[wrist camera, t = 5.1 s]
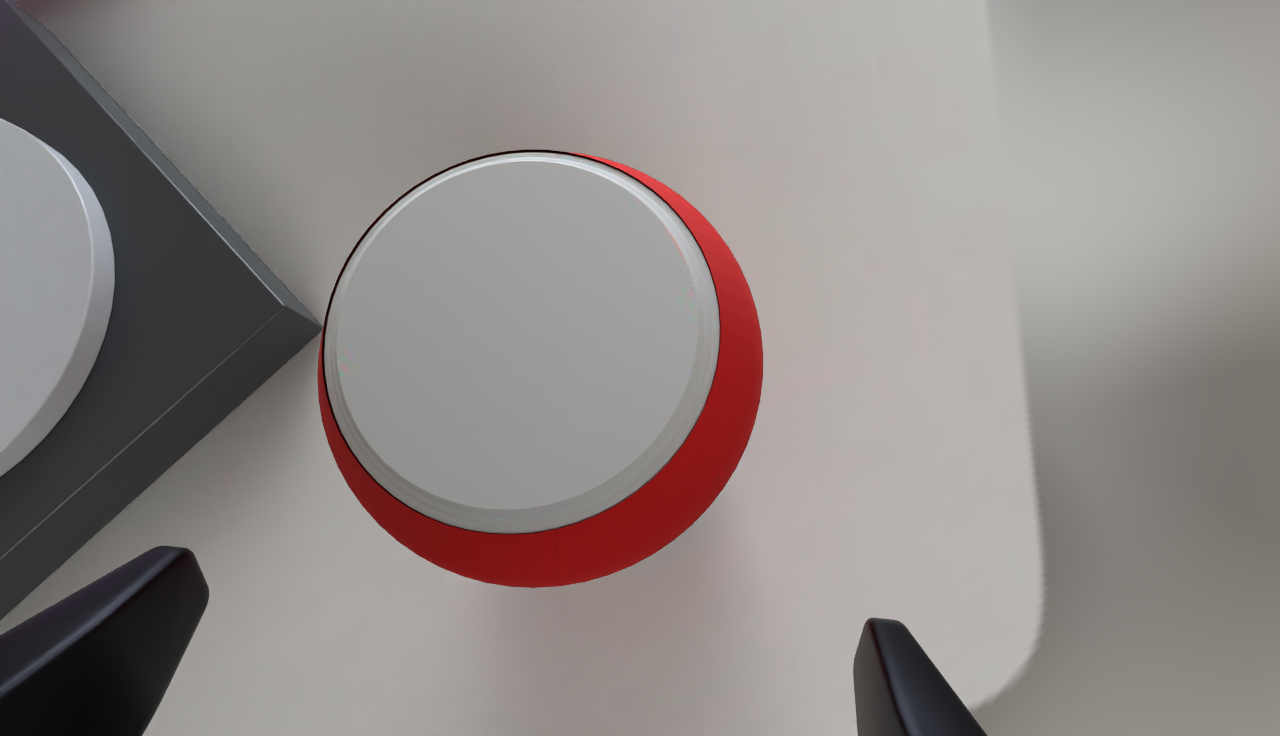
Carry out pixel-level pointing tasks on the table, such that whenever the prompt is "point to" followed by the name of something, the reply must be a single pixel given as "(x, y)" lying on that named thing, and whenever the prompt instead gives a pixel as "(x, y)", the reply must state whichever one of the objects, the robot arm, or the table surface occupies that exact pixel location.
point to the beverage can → (539, 368)
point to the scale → (108, 309)
